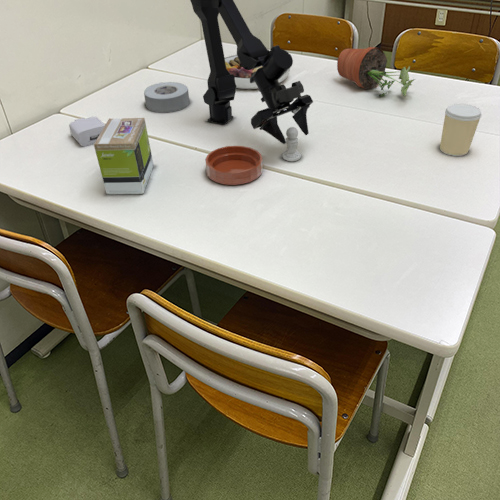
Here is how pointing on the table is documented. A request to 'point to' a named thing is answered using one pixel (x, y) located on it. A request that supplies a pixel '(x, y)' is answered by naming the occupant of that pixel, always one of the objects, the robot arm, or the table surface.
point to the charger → (86, 130)
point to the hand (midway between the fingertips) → (296, 138)
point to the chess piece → (291, 145)
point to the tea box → (124, 155)
